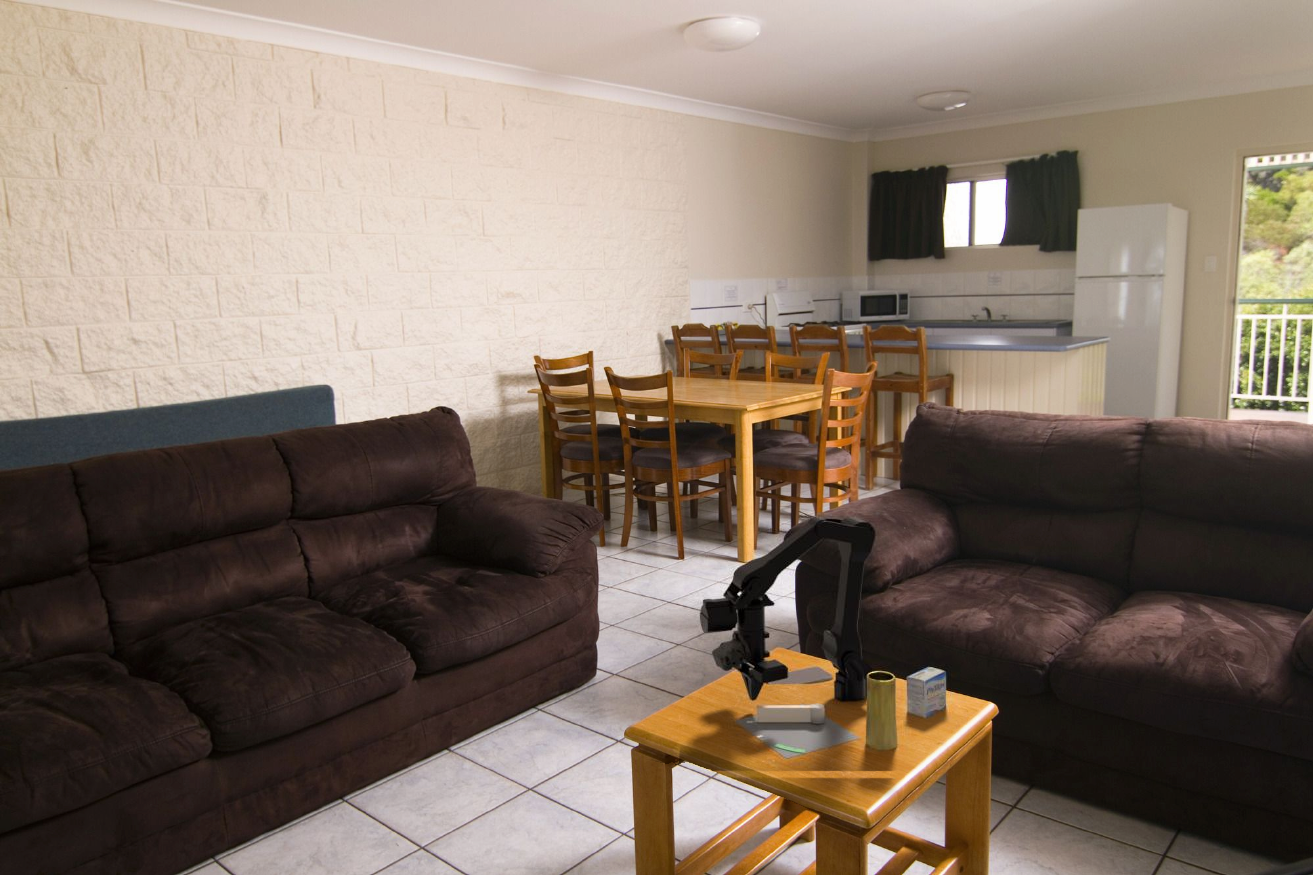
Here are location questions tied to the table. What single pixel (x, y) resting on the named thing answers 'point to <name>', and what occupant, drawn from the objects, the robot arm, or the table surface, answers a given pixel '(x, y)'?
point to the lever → (791, 713)
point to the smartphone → (805, 676)
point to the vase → (881, 711)
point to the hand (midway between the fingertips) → (753, 699)
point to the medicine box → (926, 692)
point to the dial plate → (797, 735)
